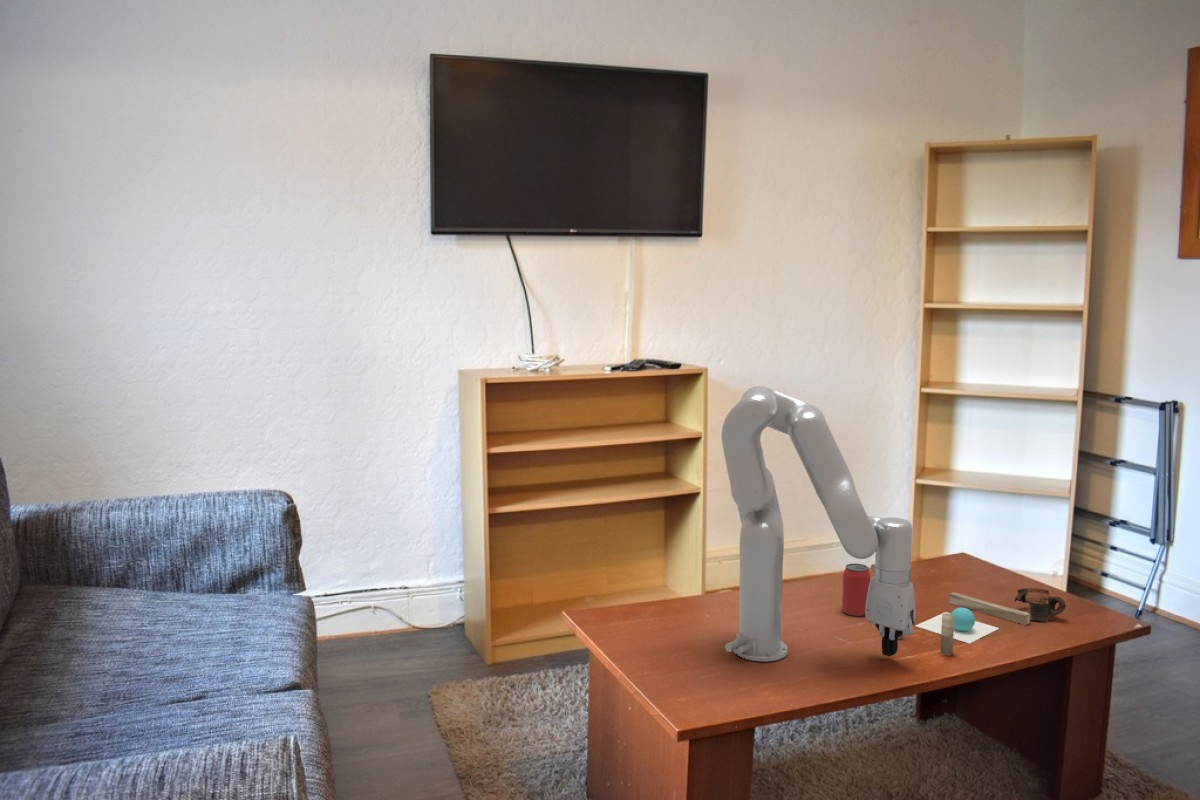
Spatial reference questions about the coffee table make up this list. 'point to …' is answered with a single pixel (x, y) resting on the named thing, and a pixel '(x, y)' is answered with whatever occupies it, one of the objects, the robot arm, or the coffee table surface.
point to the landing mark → (964, 636)
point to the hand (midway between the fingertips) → (889, 653)
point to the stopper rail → (989, 608)
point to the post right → (947, 634)
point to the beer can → (855, 589)
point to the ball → (963, 619)
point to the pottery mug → (1040, 603)
